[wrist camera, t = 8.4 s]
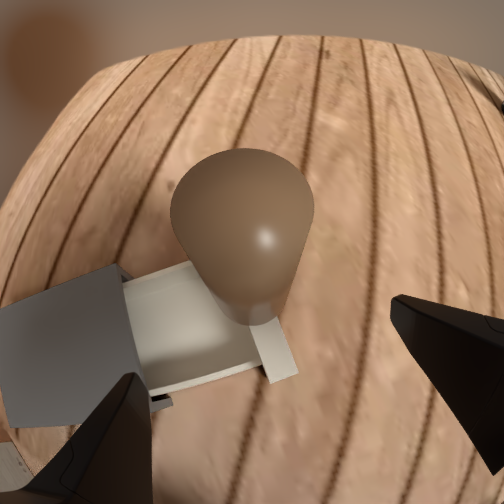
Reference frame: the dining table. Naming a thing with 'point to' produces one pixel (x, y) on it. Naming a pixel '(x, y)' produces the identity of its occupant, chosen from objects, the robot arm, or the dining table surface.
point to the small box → (12, 468)
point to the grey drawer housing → (67, 350)
